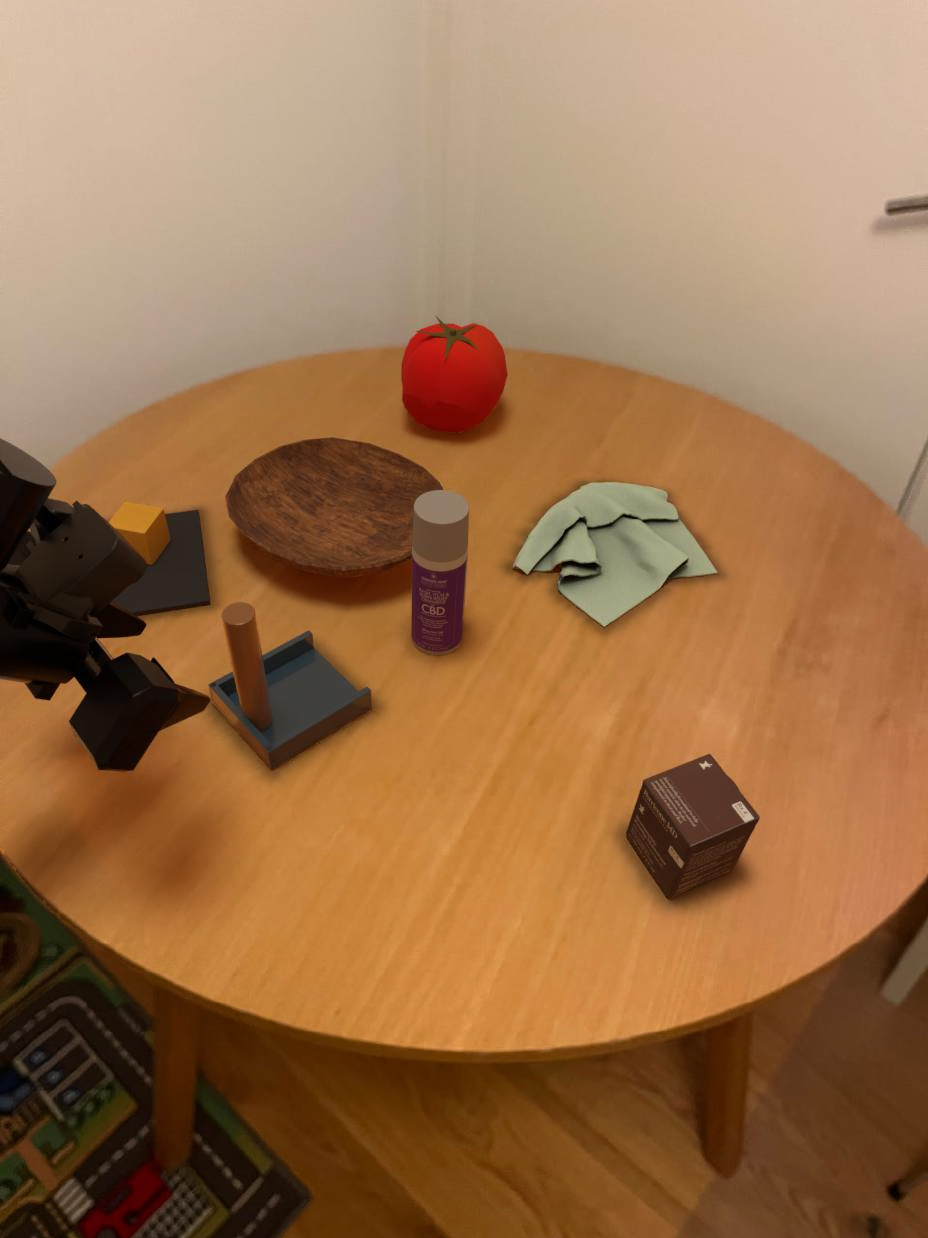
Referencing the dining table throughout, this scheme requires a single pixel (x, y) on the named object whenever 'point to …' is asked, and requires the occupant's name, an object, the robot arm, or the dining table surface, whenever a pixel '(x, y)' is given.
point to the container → (439, 571)
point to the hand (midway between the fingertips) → (173, 664)
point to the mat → (172, 572)
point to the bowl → (330, 505)
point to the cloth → (613, 547)
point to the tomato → (452, 376)
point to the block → (143, 529)
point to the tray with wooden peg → (281, 691)
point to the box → (690, 824)
